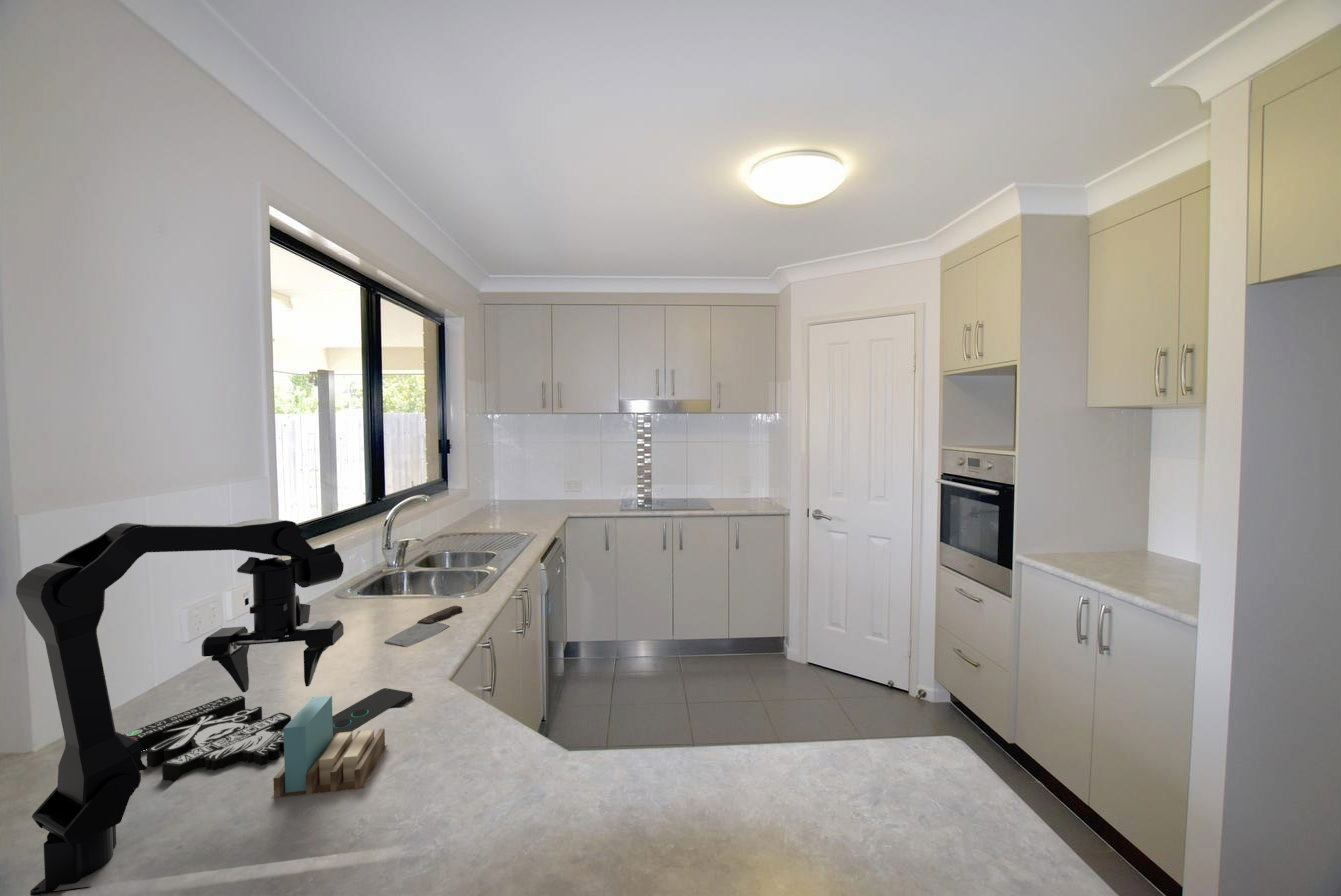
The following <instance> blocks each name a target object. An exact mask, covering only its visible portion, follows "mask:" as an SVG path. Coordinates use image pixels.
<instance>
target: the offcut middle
mask: <svg viewBox="0 0 1341 896" xmlns="http://www.w3.org/2000/svg"><path fill="white" fill-rule="evenodd" d="M352 740H353V731H351V732H342V733H339V734H338V735H337V737H336V738H335V739H334V741H333V742H332V743H331V745H330V746H329V747H328V749H327V750H326V751H325V753H324V754H323V755H322V757H321V758H320V759H319V773H320V785H326V784H331V783H330V772H331V770H332V769H333V767H334V766H335V765H336V763H337V762H338V760H339V759H340V757H341V756H342V754H343V753H344V751H345V750H346V749H347V747H348V746H349V744H350V743H351V741H352Z"/></svg>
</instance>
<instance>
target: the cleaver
mask: <svg viewBox="0 0 1341 896" xmlns="http://www.w3.org/2000/svg"><path fill="white" fill-rule="evenodd" d="M462 612H463V607H462V606H460V605H452V606H448V607H447V608H444V609H442V610H439V611H436V612H434V613H432V614H430V615H427V616H426V617H423V618H421V619H419V620H418V621H417V622H416V623H415V624H414V625H411V626H409V627H408V628H405V629H404V630H402V631H400V632H398V633H396V634H394V635H392V636H391V637H389V638H387V639H386V640H384V644H386V645H392V646H397V647H402V648H408V647H411V646H414V645H416V644H418V643H421V642H424V641H427V640H428V639H431V638H433V637H435V636H436V635H438V634H439V633H441V632H443V631H444V630H446V628H448V627H450V625H448V624H446V623H441V622H439V621H443V620H445V619H448V618H449V617H451V616H454V615H456V614H458V613H459V614H460V613H462Z"/></svg>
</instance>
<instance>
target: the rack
mask: <svg viewBox="0 0 1341 896" xmlns="http://www.w3.org/2000/svg"><path fill="white" fill-rule="evenodd" d="M361 731H362V730H358V731H357V733H356V734H355V736H354V737H352V741H351V743H350V744H349V746H348V747H347V749H346V750H345V751H344V753H343V754H342V756H341V757H340V759H339V760H338V762H337V763H336V765H335V766H334V767H333V769H332V770H331V772H330V783H331V784H326V785H320V773H319V759H320V758H321V757H322V755H323V754H324V753H325V751H326V750H327V749H328V747H329V746H330V745H331V743H332V742H333V741H334V739H335V738H336V737H337V735H338V734H339V733H337V734H336V735H335V737H334V738H333V739H332V741H331V742H330V743H329V745H328V746H327V747H326V749H325V750H324V751H323V753H322V754H321V755H320V756H319V758H318V759H317V760H316V762H315V763H314V764H313V766H312V767H311V768H310V770H309V771H308V772H307V774H306V790H305V791H296V792H287V793H285V764H284V765H283V766H282V768H281V769H279V771H278V772H277V773H276V774H275V775H274V777H273V779H272V780H273V795H272V796H271V799H277V798H278V799H279V798H289V797H296V796H305V795H314V794H315V795H316V794H323V793H324V794H325V793H331V792H332V793H333V792H341V791H342V792H343V791H348V790H349V791H351V790H359V789H364V787H366V784H367V782H368V780H369V779H370V777H371V776H372V774H373V771H374V770H375V768H376V766H377V765H378V762H380V759H381V757H382V756H383V754H384V753H385V750H386V748H387V746H388V745H387V744H386V739H385V738H386V736H385V734H386V733H385V728H379V729H378V731H377V733H376V734H375V735H374V739H373V740H372V742H371V744H370V745H369V747H368V749H367V750H366V752H365V753H364V755H363V757H362V758H361V760H360V761H359V763H358V765H357V766H356V768H355V769H354V774H355V781H353V782H344V779H343V757H344V755H345V754H346V752H347V751H348V749H349V748H350V746H351V745H352V744H353V742H354V741H355V739H356V738H357V736H358V735H359V733H360V732H361Z"/></svg>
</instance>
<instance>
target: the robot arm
mask: <svg viewBox="0 0 1341 896" xmlns="http://www.w3.org/2000/svg"><path fill="white" fill-rule="evenodd" d="M335 545H336V544H335V543H329V542H326V543H321V544H318V545H316V546H311V545H310V544H309V543H308V541H307V540H306V539H305V538H304V537H303V536H302V532H301V530H300V527H299V526H298V525H297V523H296V522H294V521H292V520H285V519H276V518H275V519H274V518H258V519H251V520H245V521H240V522H236V523H230V524H225V525H224V524H222V525H221V524H219V525H218V524H216V525H215V524H141V523H134V522H133V523H132V522H123V523H119V524H116V525H114V526H112V527H111V528H109V529H108V530H106V531H105V532H103V533H102V534H100V535H99V536H97V537H95V538H94V539H92V540H90V541H88V542H86V543H83V544H82V545H80V546H78V547H76V548H74V549H72V550H70V551H68V552H66V553H65V554H63V555H61V557H58V558H57V559H56V560H54V561H53V562H50V563H49V562H48V563H45V564H42V565H39V566H36V567H34V568H32V569H31V570H29V571H28V572H26V573H25V575H23V577H21V578H20V579H19V580H18V582H17V584H16V586H15V588H16V589H15V595H16V598H17V599H18V602H19V604H20V606H21V607H22V610H23V611H24V613H25V615H26V617H27V619H28V620H29V621H30V623H31V624H32V625H33V627H34V628H35V629H36V630H37V632H38V634H40V636H41V637H42V640H44V644H45V648H46V653H47V658H48V663H49V667H50V672H51V678H52V683H53V687H54V692H55V696H56V697H55V698H56V701H57V707H58V711H59V712H58V713H59V717H60V722H61V725H62V731H63V737H64V740H65V741H64V742H65V745H64V749H63V753H62V755H61V757H60V761H59V764H58V766H57V767H58V769H57V770H58V771H57V786H56V788H55V789H54V790H53V791H52V792H51V793H50V794H49V795H48V796H47V798H45V800H44V801H43V802H42V803H41V804H40V805H39V807H38V808H37V809H36V810H35V811H34V812H33V813H32V815H31V818H32V820H33V821H34V823H35V824H36V825H37V826H38V827H39V828H40V829H44V830H45V831H47V832H48V834H47V836H46V841H45V842H44V843H43V861H44V862H43V866H44V878H43V879H42V880H41V881H40V882H39V883H37V884H36V885H35V886H34V887H33V888H32V889H31V890H30V891H29V892H30V893H29V894H30V896H39V895H47V894H55V893H62V892H70V891H78V890H79V891H80V890H84V889H86V890H87V889H89V888H92V887H93V885H89V886H81V887H80V886H79V887H74V888H73V887H72V888H67V889H59V890H57V889H58V888H59V887H60V886H63V885H64V886H66V885H71V884H76V883H78V882H79V881H81V880H82V879H83V878H85V877H87V876H90V875H91V874H93V873H95V872H97V871H98V870H100V869H101V868H104V866H106V865H107V864H108V863H109V862H110V861H111V860H112V859H113V857H114V849H115V848H116V845H117V827H116V826H117V825H119V824H120V823H121V822H122V820H123V818H124V814H125V811H126V809H127V806H128V804H129V801H130V799H131V797H132V795H133V794H134V792H135V791H136V789H138V788H139V787H140V784H141V783H142V782H141V781H142V773H141V771H146V770H147V767H148V766H146V765H145V764H143V761H142V753H141V744H140V741H138V740H136V739H133V738H131V737H128V736H126V735H124V734H123V733H120V732H118V731H117V732H116V727H115V722H114V721H115V720H114V718H113V717H114V716H113V712H112V706H111V702H110V695H109V692H108V686H107V680H106V676H105V670H104V666H103V660H102V654H101V650H100V649H101V648H100V644H99V638H98V627H99V623H100V621H101V619H102V616H103V613H104V610H105V599H106V590H107V589H108V588H109V587H110V586H112V585H113V584H115V583H116V582H117V581H118V580H120V579H121V578H122V577H124V575H125V574H126V573H127V572H128V571H129V569H131V567H132V566H133V565H134V564H135V562H136V561H137V560H139V558H140V557H142V556H144V555H145V554H146V553H170V552H171V553H172V552H173V553H174V552H175V553H176V552H202V551H203V552H206V551H211V552H212V551H241V552H248V553H249V552H250V553H255V554H263V555H270V556H275V557H270V558H264V559H261V558H260V557H255V556H249V557H248V558H247V560H246V561H245V562H244V563H243V564H241V565H240V566H239V567H238V568H237V569H236V571H237V573H238V574H244V575H245V574H246V575H252V586H253V588H252V591H253V592H252V593H253V594H252V597H253V605H251V606H250V607H249V614H251V615H252V614H253V627H254V628H253V631H251V632H248V631H249V630H248V628H247V627H246V626H245V625H244V626H234V627H233V626H231V627H230V626H229V627H221V628H219V629H218V630H217V631H215V632H213V633H212V634H210V635H208V636H206V638H204V639H203V641H202V644H201V657H205V658H206V657H211V661H212V662H218V663H219V664H220V665H221V666H222V667H223V669H225V671H226V672H227V673H228V674H229V675H230V677H231V678H232V679H233V680H234V682H235V684H236V685H237V686H238V687H237V688H239V690H240V691H241V692H242V693H246V692H248V690H249V687H250V686H249V684H250V677H249V676H250V674H249V665H248V664H249V663H248V662H249V661H248V653H249V650H250V646H251V645H252V646H253V645H263V644H278V643H291V642H302V641H303V642H304V644H305V645H306V646H307V647H306V648H305V649H304V650H303V679H304V681H303V682H304V685H305V688H306V687H309V686H310V685H311V683H312V681H313V678H314V676H315V673H316V669H317V667H318V663H319V661H320V658H321V657H322V654H323V653H324V652H325V651H326V650H327V649H328V648H329V647H333V646H334V645H335V644H336V643H337V642H338V641H339V640H340V639H341V637H343V636H344V634H345V633H344V632H345V631H344V624H343V622H342V621H340V619H332V620H330V619H329V620H319V621H316V622H315V623H314V624H313V625H311V626H310V627H309V628H298V627H302V626H303V624H309V621H310V615H311V614H310V611H311V604H306V603H300V595H299V594H297V595H296V593H297V592H296V585H297V586H299V587H300V588H302V589H305V588H309V587H312V586H314V587H315V586H317V585H320V584H324V583H328V582H332V581H336V580H338V579H340V578H341V577H342V575H343V574H344V573H343V572H344V568H345V567H344V561H342V557H341V555H340V554H339V552H338V551H337V550H336V546H335ZM277 556H278V557H277ZM281 557H290V558H289V559H285V560H283V559H282V558H281Z"/></svg>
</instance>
